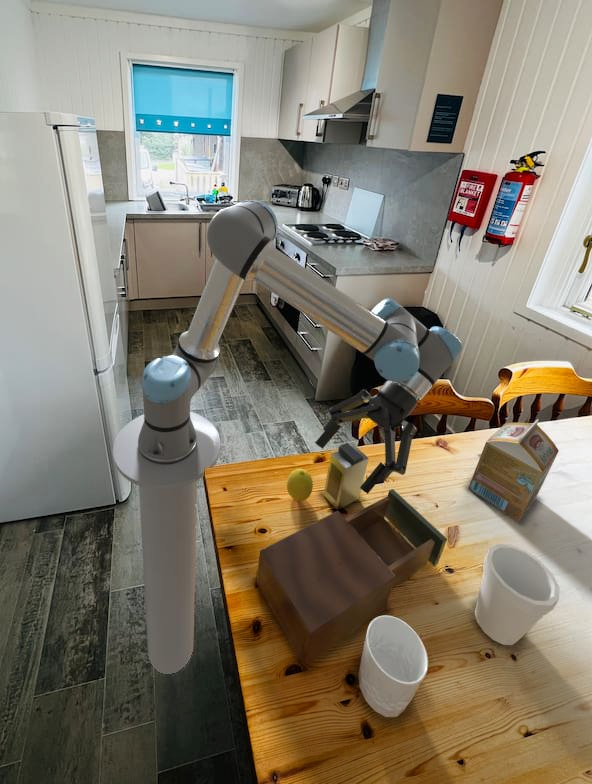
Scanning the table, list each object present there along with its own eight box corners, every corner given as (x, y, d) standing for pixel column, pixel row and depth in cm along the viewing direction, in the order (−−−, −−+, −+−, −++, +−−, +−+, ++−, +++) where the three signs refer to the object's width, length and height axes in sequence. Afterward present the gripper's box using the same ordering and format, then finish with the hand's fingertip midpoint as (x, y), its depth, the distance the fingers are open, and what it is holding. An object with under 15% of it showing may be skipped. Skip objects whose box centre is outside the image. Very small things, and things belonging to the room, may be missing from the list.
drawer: (390, 509, 85) (396, 486, 82) (442, 560, 75) (451, 536, 72) (327, 544, 77) (332, 520, 74) (376, 607, 67) (384, 581, 64)
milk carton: (486, 468, 98) (511, 406, 91) (535, 498, 91) (567, 432, 83) (468, 488, 92) (493, 423, 85) (519, 521, 85) (551, 453, 77)
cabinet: (331, 541, 78) (338, 510, 75) (385, 608, 67) (395, 576, 64) (256, 582, 70) (259, 550, 67) (303, 667, 59) (311, 633, 56)
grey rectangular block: (322, 494, 88) (331, 449, 83) (344, 484, 92) (354, 439, 86) (336, 510, 85) (346, 464, 80) (359, 499, 88) (370, 453, 83)
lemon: (287, 509, 85) (291, 481, 81) (283, 487, 90) (287, 461, 87) (312, 509, 85) (317, 481, 82) (307, 488, 90) (311, 461, 87)
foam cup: (507, 595, 70) (532, 545, 65) (543, 658, 62) (576, 606, 57) (454, 592, 70) (475, 542, 65) (483, 654, 62) (510, 603, 57)
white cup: (380, 644, 63) (393, 605, 59) (422, 702, 56) (441, 663, 52) (342, 672, 59) (354, 632, 55) (384, 738, 53) (400, 698, 49)
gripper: (462, 433, 77) (393, 517, 76) (366, 369, 97) (310, 435, 96) (453, 418, 72) (379, 508, 71) (354, 354, 92) (295, 424, 91)
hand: (339, 466), depth 83 cm, fingers open, 13 cm apart
